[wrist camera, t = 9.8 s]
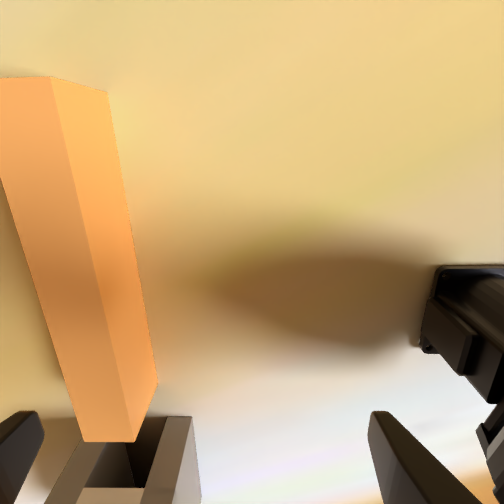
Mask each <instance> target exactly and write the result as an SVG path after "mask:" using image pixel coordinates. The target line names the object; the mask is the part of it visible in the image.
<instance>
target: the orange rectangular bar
mask: <svg viewBox="0 0 504 504" xmlns="http://www.w3.org/2000/svg"><path fill="white" fill-rule="evenodd" d="M0 178H1V181H2V184H3V188H4V191H5V194H6V197H7V200H8V203H9V206H10V210H11V213H12V216H13V219H14V222H15V225H16V229H17V232H18V235H19V238H20V241H21V244H22V247H23V251H24V254H25V257H26V260H27V263H28V266H29V270H30V273H31V276H32V279H33V282H34V285H35V288H36V292H37V295H38V298H39V301H40V304H41V307H42V311H43V314H44V317H45V320H46V323H47V326H48V329H49V333H50V336H51V339H52V342H53V345H54V348H55V352H56V355H57V358H58V361H59V364H60V367H61V370H62V374H63V377H64V380H65V383H66V386H67V389H68V393H69V396H70V399H71V402H72V405H73V408H74V411H75V415H76V418H77V421H78V424H79V427H80V430H81V434H82V437H83V440H84V442H135V440H136V437H137V435H138V432H139V430H140V427H141V425H142V422H143V420H144V417H145V415H146V412H147V410H148V408H149V405H150V403H151V400H152V398H153V395H154V393H155V390H156V388H157V385H158V380H157V375H156V369H155V363H154V358H153V352H152V346H151V340H150V335H149V329H148V323H147V317H146V312H145V306H144V300H143V295H142V289H141V283H140V277H139V272H138V266H137V260H136V254H135V249H134V243H133V237H132V232H131V226H130V220H129V214H128V209H127V203H126V197H125V191H124V186H123V180H122V174H121V168H120V163H119V157H118V151H117V146H116V140H115V134H114V128H113V123H112V117H111V111H110V105H109V100H108V94H107V92H103V91H100V90H96V89H92V88H89V87H85V86H82V85H78V84H75V83H71V82H67V81H64V80H60V79H57V78H53V77H22V78H0Z"/></svg>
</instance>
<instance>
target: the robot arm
mask: <svg viewBox="0 0 504 504" xmlns="http://www.w3.org/2000/svg"><path fill="white" fill-rule="evenodd" d="M446 272H447V274H446V276H444V277H442V276H443V274H444V273H446ZM421 332H422V334H421V339H420V343H419V347H420V348H421V350H422V351H423V352H424V353H426V354H440V355H441V356H442V357H443V358H444V359H445V361H446V362H447V363H448V364H449V365H450V367H451V368H452V369H453V370H454V371H455V372H456V373H457V374H458V375H459V376H465V377H466V378H467V380H468V381H469V382H470V383H471V384H472V385H473V387H474V388H475V389H476V390H477V391H478V392H479V394H480V395H481V396H482V397H483V398H484V399H485V401H486V402H487V403H488V404H497V405H496V407H495V408H494V409H493V411H492V412H491V414H490V415H489V416H488V418H487V419H486V421H485V422H484V423H481V424H480V425H479V426H478V428H477V429H476V434H477V436H478V439H479V441H480V444H481V447H482V449H483V452H484V454H485V457H486V459H487V460H486V463H487V465H488V468H489V471H490V474H491V476H492V479H493V482H494V484H495V487H494V488H493V494H494V496H495V498H496V500H497V501H498V503H499V504H504V266H443V267H440V268H438V269H437V270H436V272H435V276H434V280H433V285H432V289H431V294H430V298H429V299H428V301H427V305H426V310H425V314H424V319H423V323H422V328H421ZM428 345H429V346H428ZM426 346H428V347H426ZM43 439H44V429H43V426H42V424H41V421H40V418H39V416H38V413H37V412H36V411H19V412H17V413H15V414H13V415H12V416H10V417H9V418H7V419H6V420H4V421H3V422H1V423H0V504H14V502H15V500H16V498H17V496H18V494H19V492H20V489H21V487H22V485H23V483H24V481H25V479H26V477H27V474H28V472H29V470H30V468H31V466H32V464H33V462H34V460H35V457H36V455H37V453H38V451H39V449H40V447H41V445H42V442H43ZM368 443H369V447H370V451H371V455H372V459H373V463H374V467H375V471H376V475H377V479H378V483H379V487H380V491H381V495H382V499H383V503H384V504H482V503H481V502H480V501H479V500H478V499H477V498H476V497H475V496H474V495H473V494H472V493H471V492H470V491H469V490H468V489H467V488H466V487H465V486H464V485H463V484H462V483H461V482H460V481H459V480H458V479H457V478H456V477H455V476H454V475H453V474H452V473H451V472H450V471H449V470H448V469H446V468H445V467H444V466H443V465H442V464H441V463H440V462H439V461H438V460H437V459H436V458H435V457H434V456H433V455H432V454H431V453H430V452H429V451H428V450H427V449H426V448H425V447H424V446H423V445H422V444H421V443H420V442H419V441H418V440H417V439H416V438H415V437H414V436H413V435H412V434H411V433H410V432H409V431H408V430H407V429H406V428H405V427H404V426H403V425H402V424H401V423H400V422H399V421H398V420H397V419H396V418H394V417H393V416H392V415H391V414H390V413H389V412H387V411H373V412H372V413H371V416H370V422H369V428H368Z"/></svg>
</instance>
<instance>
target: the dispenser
mask: <svg viewBox="0 0 504 504" xmlns="http://www.w3.org/2000/svg"><path fill="white" fill-rule="evenodd" d="M201 497H202V496H201V488H200V479H199V471H198V463H197V454H196V446H195V437H194V429H193V421H192V417H167V420H166V423H165V426H164V429H163V432H162V436H161V439H160V442H159V445H158V448H157V451H156V454H155V458H154V461H153V464H152V467H151V470H150V473H149V476H148V479H147V483H146V486H145V488H135V483H134V479H133V475H132V471H131V467H130V462H129V458H128V454H127V450H126V446H125V442H84V440H83V437H82V439H81V440H80V442H79V444H78V446H77V447H76V449H75V451H74V453H73V454H72V456H71V458H70V459H69V461H68V463H67V465H66V466H65V468H64V470H63V472H62V473H61V475H60V477H59V478H58V480H57V482H56V484H55V485H54V487H53V489H52V491H51V492H50V494H49V496H48V497H47V499H46V501H45V503H44V504H200V503H201Z"/></svg>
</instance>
